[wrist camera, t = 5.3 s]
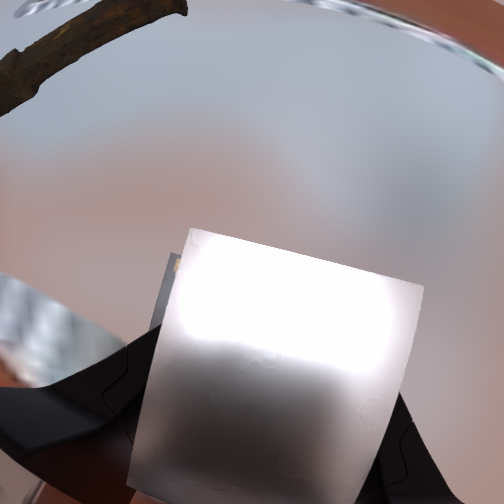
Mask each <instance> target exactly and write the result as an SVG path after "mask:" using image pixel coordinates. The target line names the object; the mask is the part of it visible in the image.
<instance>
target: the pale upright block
mask: <svg viewBox="0 0 504 504" xmlns="http://www.w3.org/2000/svg"><path fill="white" fill-rule="evenodd" d="M423 292H424V286H421V285H417V284H413V283H410V282H406V281H402V280H398V279H394V278H391V277H387V276H383V275H379V274H375V273H371V272H367V271H363V270H359V269H356V268H352V267H348V266H344V265H340V264H336V263H331V262H328V261H324V260H320V259H316V258H312V257H308V256H304V255H300V254H296V253H292V252H288V251H285V250H280V249H276V248H273V247H269V246H264V245H260V244H256V243H252V242H248V241H244V240H240V239H236V238H232V237H228V236H224V235H220V234H216V233H212V232H208V231H204V230H200V229H195V228H190V231H189V234H188V238H187V241H186V244H185V247H184V251H183V254H182V257H181V260H180V263H179V267H178V270H177V273H176V277H175V280H174V283H173V287H172V290H171V294H170V297H169V301H168V304H167V308H166V312H165V315H164V319H163V322H162V326H161V330H160V334H159V337H158V341H157V345H156V349H155V353H154V357H153V361H152V365H151V369H150V373H149V377H148V381H147V386H146V390H145V394H144V398H143V403H142V407H141V412H140V416H139V421H138V426H137V431H136V435H135V440H134V445H133V450H132V456H131V461H130V466H129V472H128V477H127V483H126V485H128V486H130V487H132V488H134V489H136V490H138V491H141V492H143V493H145V494H147V495H150V496H152V497H154V498H157V499H159V500H162V501H164V502H167V503H169V504H354V503H355V501H356V499H357V497H358V494H359V492H360V490H361V488H362V486H363V484H364V482H365V480H366V477H367V475H368V473H369V471H370V468H371V466H372V464H373V461H374V459H375V457H376V454H377V452H378V449H379V447H380V444H381V442H382V439H383V437H384V434H385V431H386V429H387V426H388V423H389V420H390V417H391V415H392V412H393V409H394V406H395V403H396V400H397V397H398V393H399V390H400V387H401V384H402V380H403V377H404V374H405V370H406V366H407V363H408V359H409V355H410V352H411V348H412V343H413V339H414V335H415V331H416V327H417V322H418V317H419V313H420V308H421V303H422V297H423Z"/></svg>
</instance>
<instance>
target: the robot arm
mask: <svg viewBox="0 0 504 504" xmlns="http://www.w3.org/2000/svg"><path fill="white" fill-rule="evenodd" d="M161 326H162V323H161V324H159V325H158V326H156V327H155V328H153V329H152V330H150V331H148V332H147V333H145V334H144V335H142V336H141V337H139V338H138V339H136V340H134V341H133V342H131V343H130V344H128V345H127V347H126V346H125V347H123V348H122V349H120V350H118V351H117V352H115V353H113V354H112V355H110V356H108V357H107V358H105V359H103V360H102V361H100V362H98V363H96V364H94V365H92V366H90V367H88V368H86V369H84V370H82V371H80V372H77V373H75V374H73V375H71V376H69V377H67V378H65V379H63V380H60V381H58V382H56V383H54V384H51V385H48V386H45V387H40V388H17V387H0V504H129V503H130V501H131V500H132V498H133V496H134V494H135V492H136V489H134V488H132V487H130V486H128V485H126V483H127V477H128V472H129V466H130V461H131V456H132V450H133V445H134V440H135V435H136V431H137V426H138V421H139V416H140V412H141V407H142V403H143V398H144V394H145V390H146V386H147V381H148V377H149V373H150V369H151V365H152V361H153V357H154V353H155V349H156V345H157V341H158V337H159V334H160V330H161ZM354 504H464V503H462V502H461V501H460V500H459V499H457V497H455V495H454V494H453V493H452V492H451V490H450V488H449V487H448V485H447V483H446V482H445V480H444V478H443V477H442V475H441V473H440V471H439V469H438V468H437V466H436V464H435V463H434V461H433V459H432V457H431V455H430V453H429V452H428V450H427V448H426V446H425V444H424V442H423V440H422V438H421V436H420V434H419V432H418V430H417V428H416V425H415V424H414V422H412V417H411V415H410V413H409V411H408V409H407V406H406V404H405V402H404V400H403V398H402V396H401V394H400V392H399V393H398V397H397V400H396V403H395V406H394V409H393V412H392V415H391V417H390V420H389V423H388V426H387V429H386V431H385V434H384V437H383V439H382V442H381V444H380V447H379V449H378V452H377V454H376V457H375V459H374V461H373V464H372V466H371V468H370V471H369V473H368V475H367V477H366V480H365V482H364V484H363V486H362V488H361V490H360V492H359V494H358V497H357V499H356V501H355V503H354Z"/></svg>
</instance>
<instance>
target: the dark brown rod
mask: <svg viewBox="0 0 504 504" xmlns="http://www.w3.org/2000/svg"><path fill="white" fill-rule="evenodd" d="M187 11H188V7H187V1H186V0H102V1H100V2H98V3H96V4H95V5H94V6H93V7H92V8H90V9H89V10H87V11H85V12H83V13H81V14H80V15H78V16H76V17H74V18H72V19H71V20H69V21H68V22H66V23H65V24H63V25H61V26H59V27H58V28H57V29H55V30H54V31H52V32H50V33H49V34H47V35H45V36H44V37H42V38H41V39H39V40H38V41H36V42H34V43H33V44H32V45H30V46H29V47H27V48H25V50H24V51H23V52H19V51H18V50H17V49H13V50H12V51H10V52H9V53H7V54H6V55H5V57H3V58H2V59H1V60H0V117H1V116H3V115H5V114H7V113H9V112H10V111H11V110H12V109H14V108H16V107H17V106H19V105H20V104H22V103H24V102H26V101H28V100H29V99H31V98H33V97H34V96H35V95H36V94H37V92H38V90H39V87H40V85H41V84H42V83H43V82H44V81H45V80H46V79H48V78H49V77H51V76H52V75H54V74H55V73H57V72H58V71H60V70H62V69H63V68H65V67H66V66H68V65H70V64H72V63H74V62H76V61H77V60H78V59H79V58H80V57H82V56H83V55H85V54H87V53H89V52H91V51H93V50H95V49H97V48H99V47H101V46H102V45H104V44H106V43H108V42H110V41H112V40H114V39H116V38H118V37H120V36H122V35H124V34H127V33H129V32H131V31H133V30H135V29H138V28H140V27H143V26H145V25H147V24H150V23H153V22H155V21H156V20H158V19H160V18H162V17H165V16H167V15H170V14H173V13H178V14H181V15H182V16H187V14H188V12H187Z"/></svg>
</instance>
